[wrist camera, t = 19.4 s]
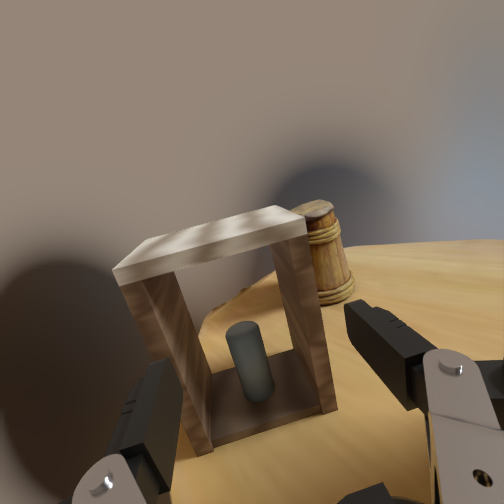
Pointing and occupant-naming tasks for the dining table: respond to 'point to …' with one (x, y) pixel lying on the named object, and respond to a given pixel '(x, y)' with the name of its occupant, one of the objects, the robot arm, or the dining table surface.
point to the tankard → (326, 252)
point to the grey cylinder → (250, 360)
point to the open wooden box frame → (187, 342)
